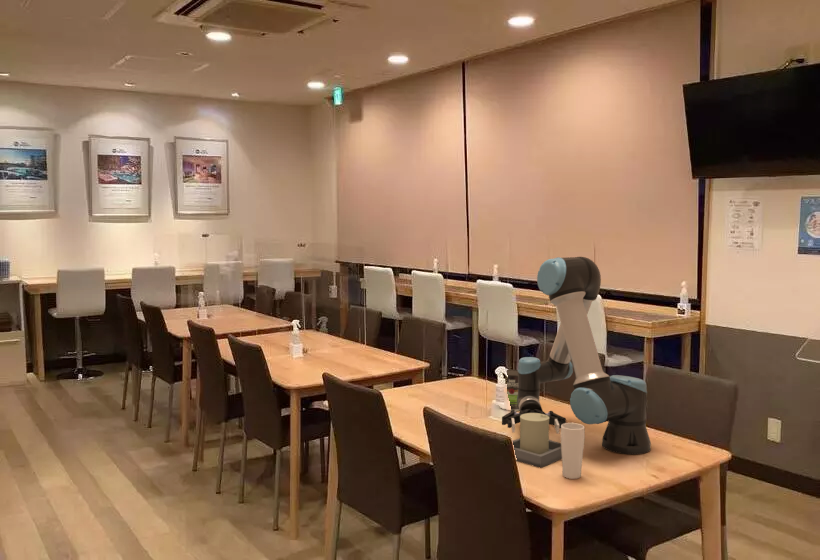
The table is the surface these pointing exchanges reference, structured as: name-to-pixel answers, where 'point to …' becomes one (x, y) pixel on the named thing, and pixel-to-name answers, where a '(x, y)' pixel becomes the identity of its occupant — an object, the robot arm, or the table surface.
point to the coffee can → (512, 388)
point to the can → (534, 433)
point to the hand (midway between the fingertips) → (535, 428)
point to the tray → (536, 459)
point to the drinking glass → (572, 449)
